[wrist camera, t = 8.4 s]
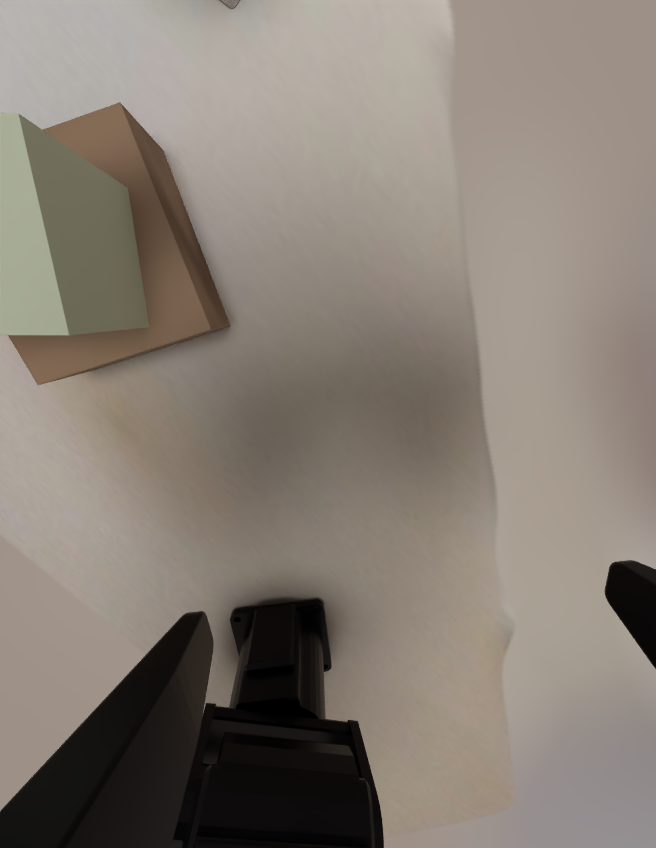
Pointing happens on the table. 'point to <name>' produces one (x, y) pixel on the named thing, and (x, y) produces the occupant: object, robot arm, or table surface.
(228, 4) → the light bulb box
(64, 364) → the walnut block
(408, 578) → the table surface
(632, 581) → the robot arm
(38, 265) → the sage cube
